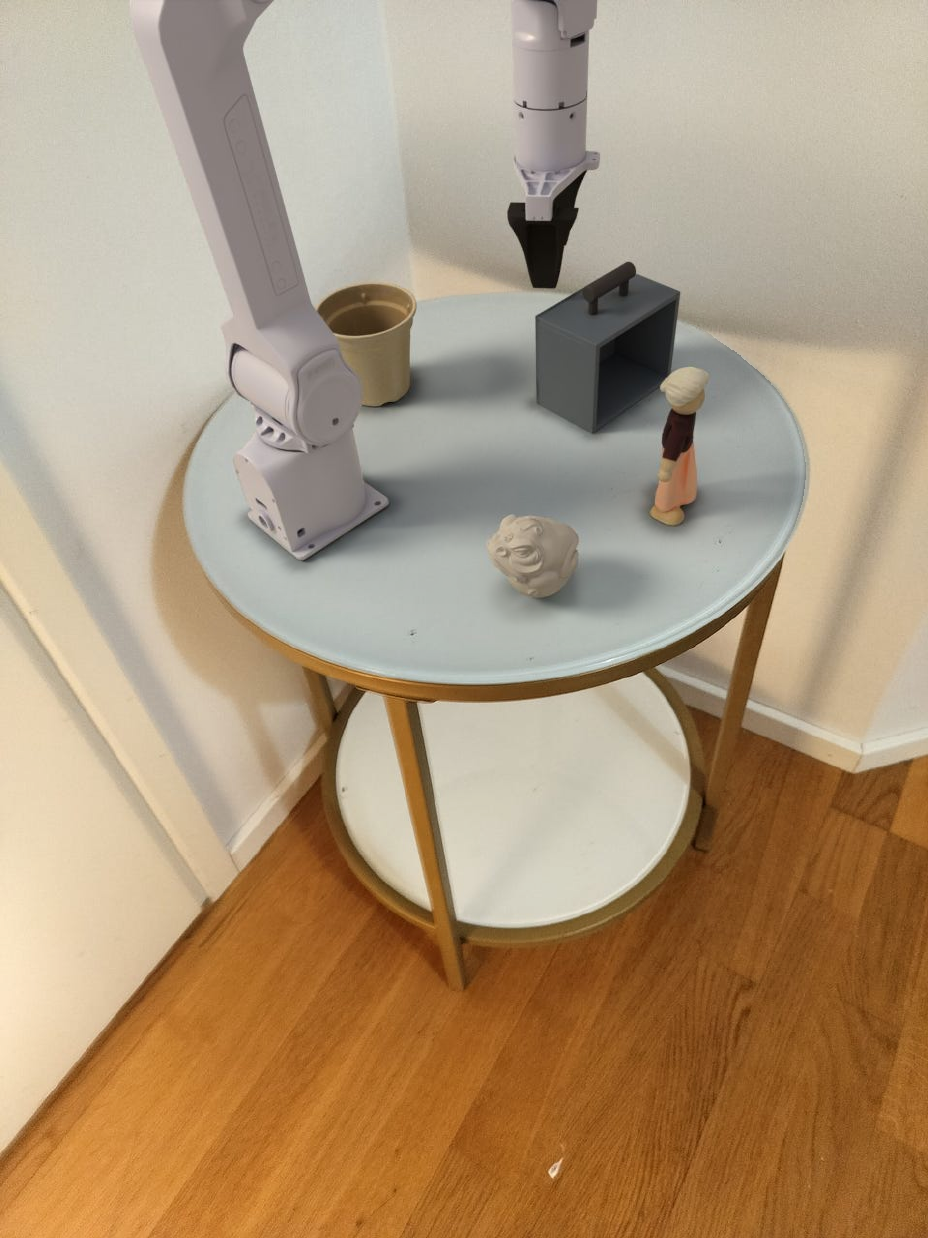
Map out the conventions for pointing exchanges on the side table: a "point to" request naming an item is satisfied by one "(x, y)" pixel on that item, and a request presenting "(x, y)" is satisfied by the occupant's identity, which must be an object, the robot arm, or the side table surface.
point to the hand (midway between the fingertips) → (550, 264)
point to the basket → (605, 347)
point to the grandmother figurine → (679, 444)
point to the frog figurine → (534, 553)
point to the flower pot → (373, 335)
